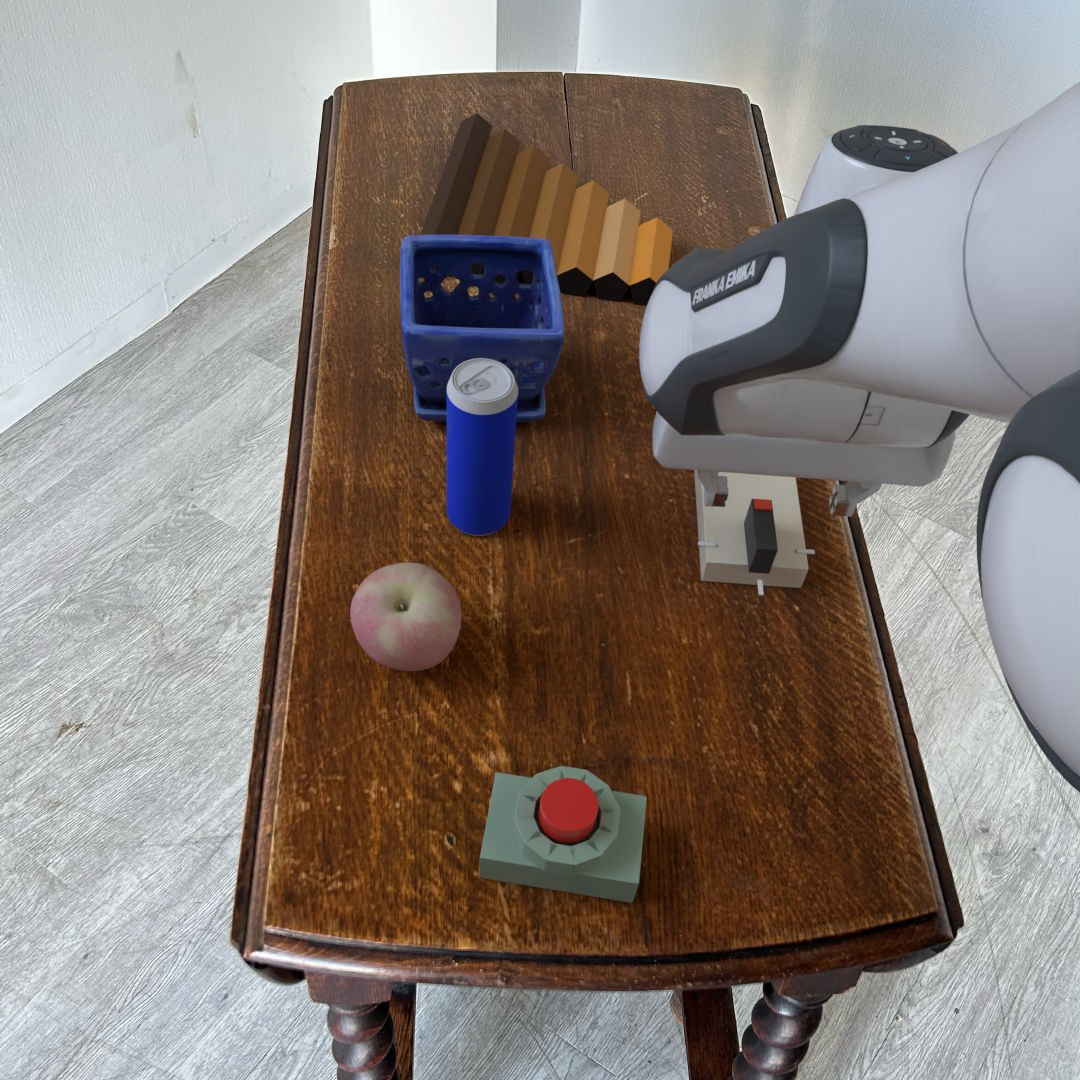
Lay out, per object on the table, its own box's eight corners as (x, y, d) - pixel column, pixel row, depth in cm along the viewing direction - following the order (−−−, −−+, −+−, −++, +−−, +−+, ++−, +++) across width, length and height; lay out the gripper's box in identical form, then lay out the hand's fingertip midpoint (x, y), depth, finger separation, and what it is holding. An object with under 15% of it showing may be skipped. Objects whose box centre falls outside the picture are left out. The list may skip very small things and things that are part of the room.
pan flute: (460, 138, 126) (413, 272, 110) (461, 110, 124) (412, 244, 108) (679, 168, 125) (662, 307, 109) (684, 140, 123) (668, 279, 107)
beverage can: (484, 482, 93) (489, 346, 82) (522, 520, 91) (533, 385, 79) (434, 510, 91) (432, 373, 79) (472, 550, 89) (476, 415, 77)
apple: (333, 661, 81) (323, 596, 75) (394, 591, 86) (390, 524, 79) (423, 713, 79) (420, 650, 73) (481, 638, 83) (484, 573, 77)
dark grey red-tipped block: (769, 574, 86) (778, 547, 83) (748, 572, 86) (757, 546, 83) (763, 524, 89) (772, 497, 86) (743, 523, 89) (752, 496, 86)
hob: (812, 618, 87) (821, 598, 84) (695, 610, 86) (701, 590, 84) (786, 428, 100) (793, 407, 98) (684, 420, 100) (689, 399, 98)
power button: (598, 795, 71) (601, 782, 70) (592, 847, 69) (595, 835, 67) (542, 786, 71) (544, 773, 70) (534, 838, 69) (536, 826, 67)
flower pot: (545, 339, 105) (554, 232, 96) (556, 439, 97) (567, 333, 88) (404, 338, 104) (399, 230, 95) (403, 440, 96) (398, 333, 87)
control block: (640, 814, 75) (651, 779, 71) (632, 907, 71) (642, 876, 67) (495, 790, 76) (497, 755, 72) (477, 881, 72) (479, 849, 68)
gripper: (665, 384, 70) (638, 527, 81) (987, 408, 70) (917, 547, 81) (663, 320, 74) (637, 464, 85) (967, 343, 75) (903, 483, 85)
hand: (776, 505), depth 83 cm, fingers open, 8 cm apart
